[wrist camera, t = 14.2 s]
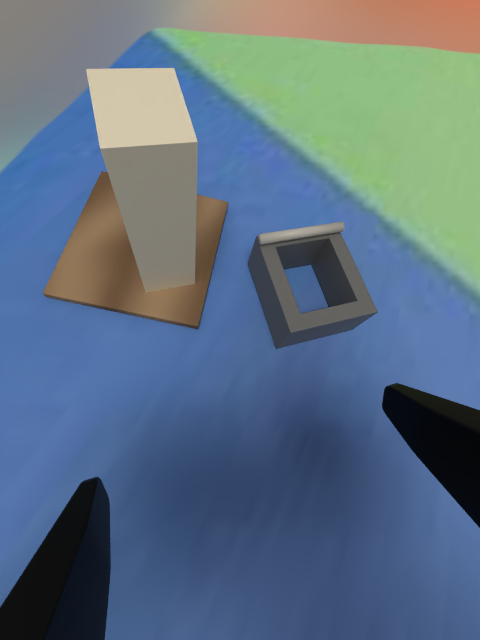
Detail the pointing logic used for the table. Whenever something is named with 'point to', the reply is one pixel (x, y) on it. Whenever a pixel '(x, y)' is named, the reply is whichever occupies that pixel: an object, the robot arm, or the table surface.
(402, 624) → the table surface
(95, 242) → the board
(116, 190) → the tall pillar on plate
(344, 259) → the grey hollow square frame
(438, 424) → the robot arm
